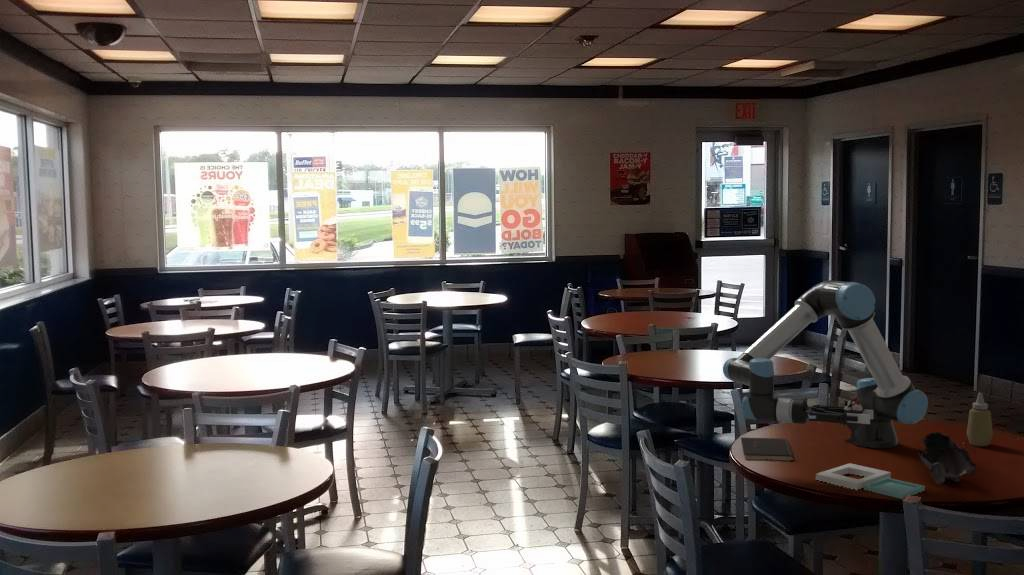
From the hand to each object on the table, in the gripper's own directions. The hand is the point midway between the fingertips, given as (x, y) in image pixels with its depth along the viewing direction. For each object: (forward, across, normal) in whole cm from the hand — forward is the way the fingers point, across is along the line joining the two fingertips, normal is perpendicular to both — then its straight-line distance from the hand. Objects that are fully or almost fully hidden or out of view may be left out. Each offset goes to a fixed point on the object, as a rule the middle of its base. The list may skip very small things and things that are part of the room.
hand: (871, 416), depth 283 cm
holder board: (-5, 0, -20) cm, 20 cm away
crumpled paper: (+19, -12, -20) cm, 30 cm away
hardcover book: (-37, -23, -20) cm, 48 cm away
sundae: (-5, 0, -8) cm, 10 cm away
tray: (+7, +7, -20) cm, 22 cm away
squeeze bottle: (+27, -60, -20) cm, 69 cm away
